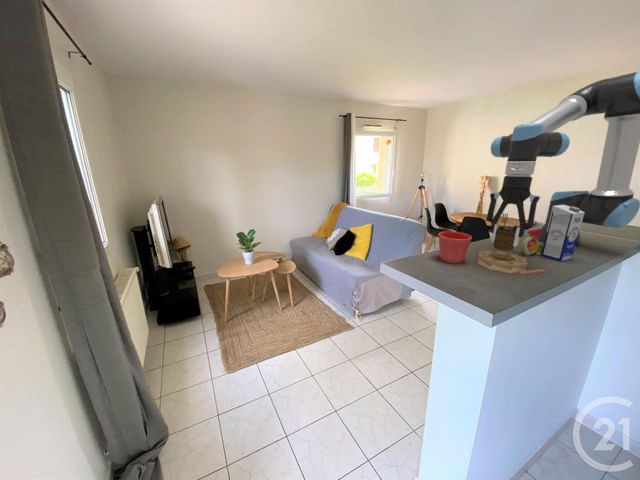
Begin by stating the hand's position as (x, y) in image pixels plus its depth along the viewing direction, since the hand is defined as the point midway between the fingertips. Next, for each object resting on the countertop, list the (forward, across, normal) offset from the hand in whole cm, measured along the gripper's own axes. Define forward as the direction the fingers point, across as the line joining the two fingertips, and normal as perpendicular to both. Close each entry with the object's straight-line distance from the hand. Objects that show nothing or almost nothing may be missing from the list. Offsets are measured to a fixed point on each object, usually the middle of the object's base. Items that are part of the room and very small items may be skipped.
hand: (504, 243), depth 93 cm
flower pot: (+8, -14, -7) cm, 18 cm away
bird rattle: (+8, +5, +21) cm, 24 cm away
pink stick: (+8, +9, -1) cm, 12 cm away
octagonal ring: (+8, 0, 0) cm, 8 cm away
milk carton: (+8, +13, +24) cm, 28 cm away
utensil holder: (+2, 0, 0) cm, 2 cm away
